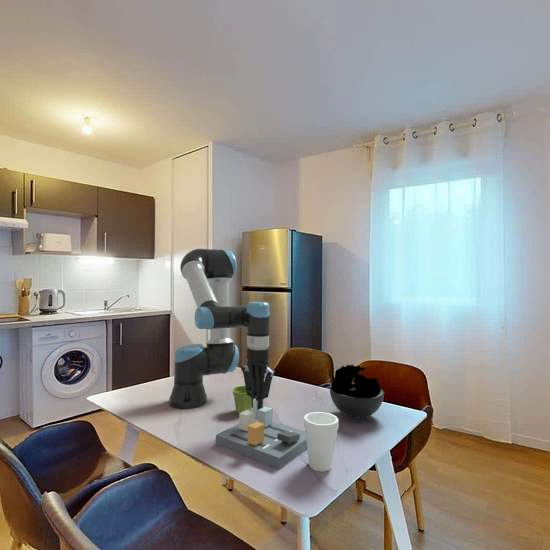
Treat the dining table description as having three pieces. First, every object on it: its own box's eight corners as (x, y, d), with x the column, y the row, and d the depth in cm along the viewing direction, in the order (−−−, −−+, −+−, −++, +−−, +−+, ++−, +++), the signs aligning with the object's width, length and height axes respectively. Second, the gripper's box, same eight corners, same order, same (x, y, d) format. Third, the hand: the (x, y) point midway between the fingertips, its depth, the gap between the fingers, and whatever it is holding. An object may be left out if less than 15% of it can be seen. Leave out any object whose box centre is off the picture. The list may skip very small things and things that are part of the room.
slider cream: (239, 428, 114) (239, 413, 114) (247, 424, 118) (247, 409, 118) (246, 431, 113) (246, 415, 113) (254, 427, 116) (254, 411, 116)
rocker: (277, 439, 105) (277, 433, 105) (287, 436, 109) (288, 430, 110) (288, 442, 102) (289, 437, 103) (299, 440, 107) (299, 434, 107)
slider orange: (247, 442, 105) (248, 425, 105) (256, 438, 108) (256, 421, 108) (255, 445, 103) (256, 428, 103) (264, 440, 106) (264, 423, 106)
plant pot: (236, 417, 132) (237, 394, 132) (228, 409, 141) (228, 387, 141) (259, 413, 137) (260, 391, 137) (250, 406, 145) (250, 384, 145)
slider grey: (257, 425, 118) (258, 409, 118) (265, 421, 121) (265, 406, 121) (265, 427, 116) (265, 411, 116) (272, 423, 119) (272, 408, 119)
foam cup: (301, 457, 103) (302, 412, 104) (332, 456, 104) (333, 411, 104) (306, 475, 94) (307, 425, 94) (341, 474, 95) (342, 424, 95)
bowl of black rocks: (348, 403, 149) (349, 358, 150) (393, 417, 135) (393, 367, 136) (318, 416, 135) (319, 366, 136) (365, 432, 121) (366, 376, 121)
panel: (215, 444, 111) (215, 432, 111) (253, 424, 126) (254, 414, 126) (279, 469, 97) (279, 455, 97) (313, 443, 112) (313, 431, 112)
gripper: (236, 347, 121) (235, 417, 121) (266, 351, 114) (265, 426, 113) (250, 344, 127) (249, 410, 127) (280, 348, 120) (279, 419, 119)
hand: (257, 418), depth 120 cm, fingers closed
